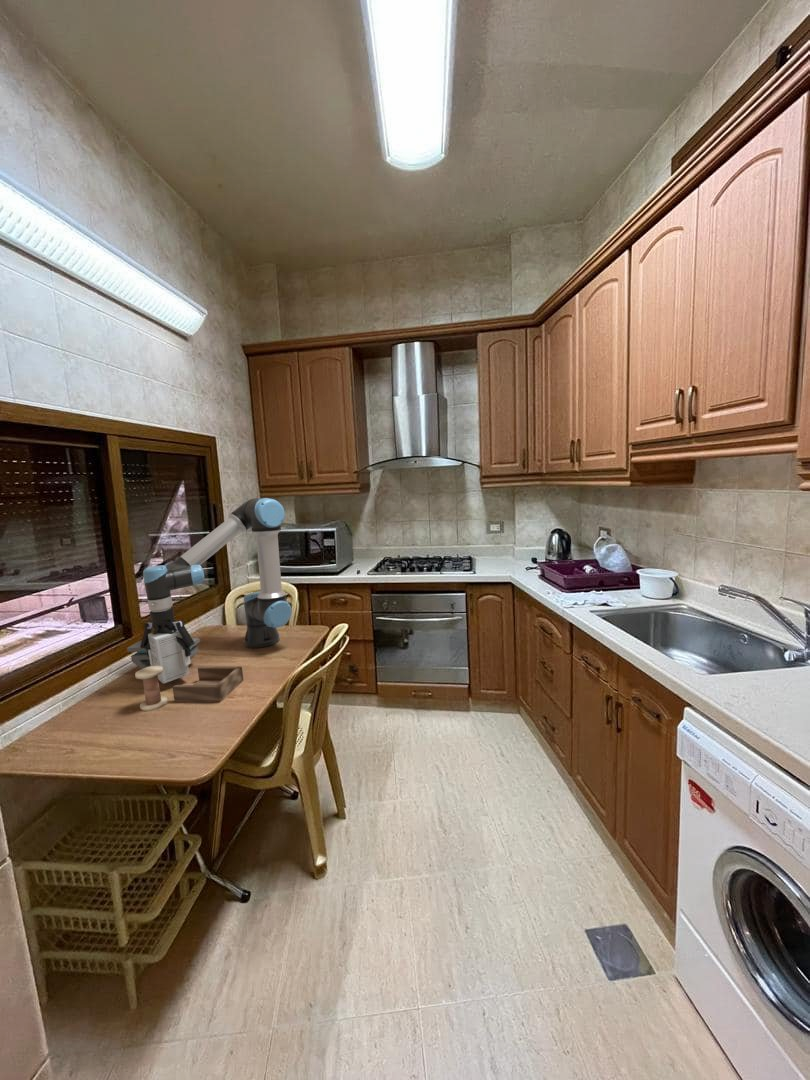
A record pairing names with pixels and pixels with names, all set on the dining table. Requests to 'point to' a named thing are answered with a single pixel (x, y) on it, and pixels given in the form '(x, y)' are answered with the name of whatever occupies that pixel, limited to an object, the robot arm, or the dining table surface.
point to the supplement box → (168, 656)
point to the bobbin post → (151, 688)
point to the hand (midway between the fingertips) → (170, 665)
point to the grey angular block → (142, 658)
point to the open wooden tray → (210, 685)
